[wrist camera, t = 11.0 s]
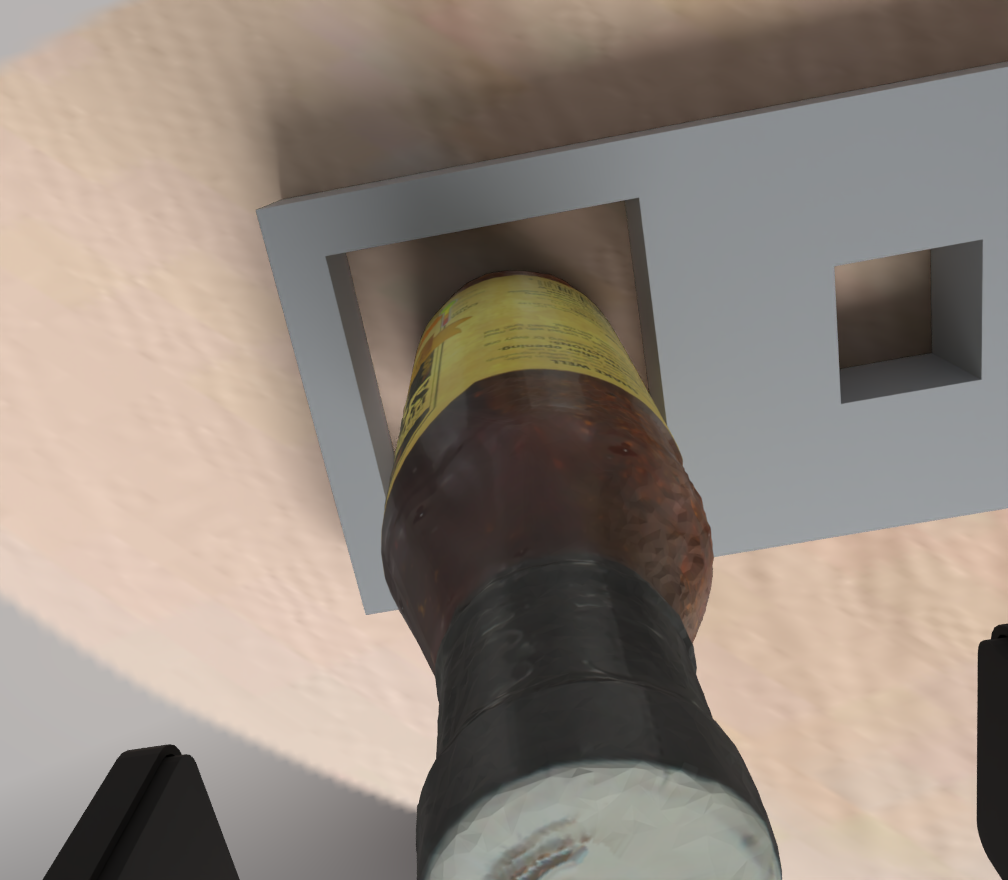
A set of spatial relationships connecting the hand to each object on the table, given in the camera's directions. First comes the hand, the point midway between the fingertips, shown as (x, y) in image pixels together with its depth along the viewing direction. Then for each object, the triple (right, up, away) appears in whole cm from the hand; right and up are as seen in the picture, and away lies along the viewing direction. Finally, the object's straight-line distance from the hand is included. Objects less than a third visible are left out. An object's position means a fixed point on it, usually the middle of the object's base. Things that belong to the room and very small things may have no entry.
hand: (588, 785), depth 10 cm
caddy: (+5, +7, +17) cm, 19 cm away
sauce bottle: (-1, +7, +18) cm, 19 cm away
